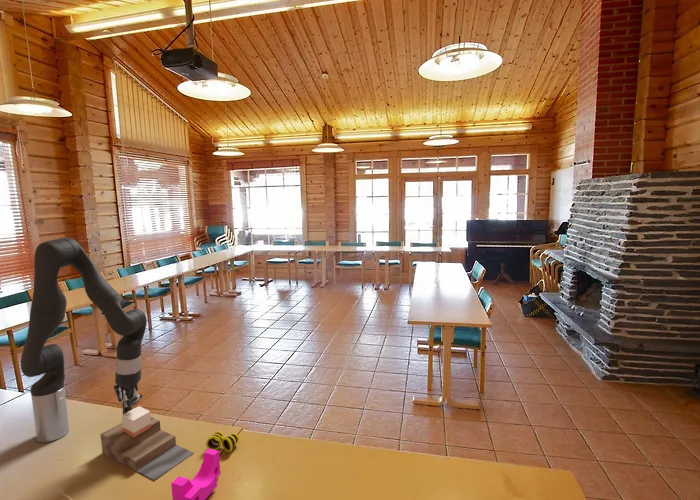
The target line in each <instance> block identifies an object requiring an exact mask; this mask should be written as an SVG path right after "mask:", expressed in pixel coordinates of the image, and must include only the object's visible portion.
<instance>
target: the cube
mask: <svg viewBox="0 0 700 500" xmlns="http://www.w3.org/2000/svg"><path fill="white" fill-rule="evenodd" d="M121 423H122V429H123V432H125V433H127V434H129V435H131V436H133V437H135V436H137V435H139V434H140V433H142V432H144V431H145V430H147V429H149V428H150V427H151V411H150V410H148V409H146V408H144V407H142V406H140V405H138V406H136V407H135V408H132V410H130V411H128V412H127V413H125V414H123V413H122V414H121Z"/></svg>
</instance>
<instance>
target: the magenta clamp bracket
mask: <svg viewBox="0 0 700 500" xmlns="http://www.w3.org/2000/svg"><path fill="white" fill-rule="evenodd" d="M203 454H204V455H203V461H202V463H201V465H200V468H199V470H198V471H197V472H196V474H195V476H194V477H193V478H192V479H190V478H187V477H183V476H179V475H178V476H177V477H176V478H175V479H174V480H173V481H172V482H171V483H170V484H171V486H170V487H171V498H172V500H206V499H207V498H208V497H209V495H211V493H213V491H214V490H215V489H216V488H217V487H218V480H217V478H218V477H219V475H221V465H220V464H221V463H220V450H218V449H217V450H213V449H208V448H207V450H206V451H205V452H204V453H203Z"/></svg>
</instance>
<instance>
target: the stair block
mask: <svg viewBox="0 0 700 500" xmlns="http://www.w3.org/2000/svg"><path fill="white" fill-rule="evenodd" d="M150 417H151V416H150ZM176 440H177V439H176V436H175V435H174V434H171V433H169V432H167V431H164V430H162V429H161V420H159V419H157V418H154V417H151V427H150V428H149V429H147V430H145V431H144V432H142V433H140V434H139V435H137V436H135V437H133V436H131V435H129V434H127V433H125V432H123V429H122V422H121V423H119V424H116V425H115V426H114V427H111V428H109V429H108V430H105V431H103V432H102V433H100V441H101V443H100V444H101V451H102V454H103V455H105V456H107V457H108V458H111V459H112V460H114V461H116V462H118V463H120V464H121V465H124V466H126V467H128V468H130V469H131V470H133V471H134V472H137V473H138V474H141V475H142V476H144V477H146V478H149V479H150V480H152V481H154V482H155V481H157V480H158V479H159V478H161V477H162V476H164V475H165V474H167V473H168V472H169V471H171V470H172V469H174V468H175V467H176V466H177V465H179V464H181V463H182V462H184V461H185V460H186V459H188V458H189V457H190V456H193V455H194V454H195V452H193V451H191V450H189V449H187V448H184V447H182V446H180V445H177V442H176Z"/></svg>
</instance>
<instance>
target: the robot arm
mask: <svg viewBox="0 0 700 500" xmlns="http://www.w3.org/2000/svg"><path fill="white" fill-rule="evenodd" d="M33 261H34V265H33V266H34V269H33V270H34V275H33V276H34V281H33V289H32V290H33V292H32V298H31V303H30V311H29V321H28V329H27V334H26V338H25V342H24V345H23V350H22V353H21V358H20V368H21V369H20V370H21V372H22V374H23V375H24V376H25V377H27V378H33V377H34V378H35V377H38V376H40V375H42V376H41V378H39V379H38V380H37V381H35V382H34V383H33V384H32V385H31V387H30V394H31V395H30V397H31V404H32V410H33V420H34V428H35V435H36V436H35V437H36V441H37V442H38V443H49V442H53V441H56V440H58V439H60V438H63V437H64V436H66V435H67V434H68V433H69V431H70V424H69V416H68V407H67V400H66V398H67V397H66V391H65V381H66V380H65V379H66V377H65V376H66V375H65V358H64V352H63V349H62V348H61V346H60V345H58V344H56V343H49V344H47V345H46V342H47V341H48V340H49V339H50V337H51V336H52V335H53V334H54V333H55V331H56V330H58V328H59V327H60V326H61V324H62V322H63V321H64V318H65V315H66V310H67V305H68V304H67V298H66V296H65V293H64V292H63V291H62V290H61V288H60V287H59V285H58V276H59V272H60V270H61V268H62V269H63V268H65V267H68V266H71V267H72V268H74V269H75V270H76V271H77V272H78V273H79V274H80V276H81V279H82V281H83V286H84V290H85V294H86V296H87V297H88V299H89V300H90V302H92V303H93V305H94V306H96V307H97V308H98V310H100V311H101V312H102V314H103V316H104V317H105V319H106V322H107V323H108V325H109V327H110V328H111V330H112V331H113V332H114V333H116V334H117V335H120V336H122V337H121V338H120V339H119V340H118V342H117V345H116V360H115V371H114V372H115V373H114V374H115V377H114V383H115V384H114V385H113V389H114V392H115V395H116V397H117V400H118V402H120V403H121V406H122V415H123V414H125V413H127V412H128V411H130V410H132V409H133V406H135V405H137V404H138V403H139V402H140V401H141V399H142V398H143V394H142V393H140V394H139V393H138V391H139V387H138V383H139V382H140V381H141V379H142V363H143V362H142V341H143V339H144V336H145V333H146V329H147V323H148V320H147V315H146V313H145V312H144V311H143V310H141V309H140V308H139V309H138V308H133V309H130V310H129V311H124V309H123V307H124V306H123V305H125V299H124V298H123V296H122V295H120V294H119V293H118V292H117V291H116V290H115V289H114V288H113V287H112V286H111V284H109V282H108V281H107V280H106V279H105V278H104V277H103V275H102V274H101V272H100V271H99V270H98V268H97V267H96V265H95V264H94V263H93V261H92V259H91V258H90V257H89V255H88V254H87V252H86V251H85V249H84V248H83V247H82V246H81V244H80V243H78V241H76V240H75V239H74V238H71V237H62V238H57V239H51V240H47V241H43V242H41V243H39V244H38V245H37V246H36V249H35V252H34V260H33ZM43 374H44V375H43Z"/></svg>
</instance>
